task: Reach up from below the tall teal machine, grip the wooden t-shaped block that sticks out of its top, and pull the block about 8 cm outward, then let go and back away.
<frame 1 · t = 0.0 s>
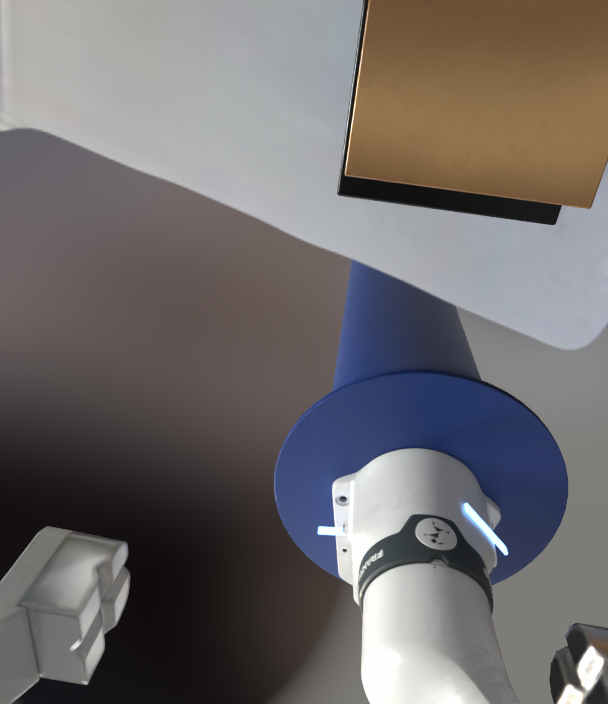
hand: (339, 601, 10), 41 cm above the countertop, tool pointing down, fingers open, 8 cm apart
machine: (426, 58, 41), on the countertop
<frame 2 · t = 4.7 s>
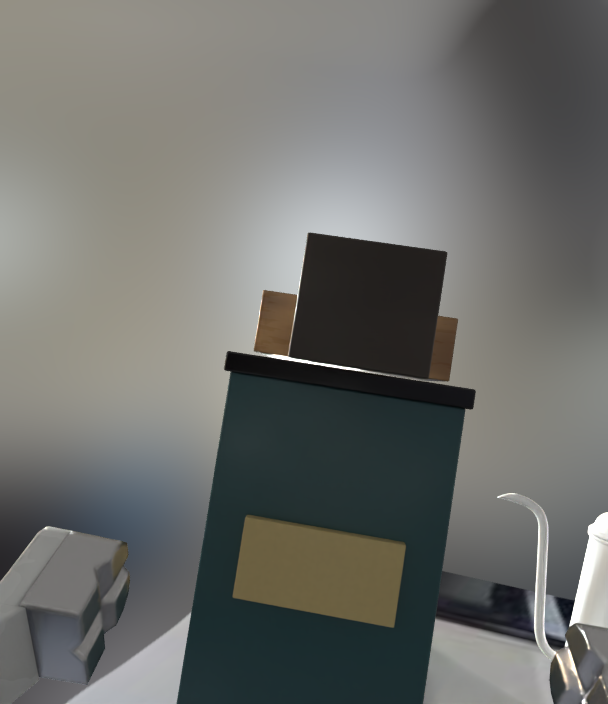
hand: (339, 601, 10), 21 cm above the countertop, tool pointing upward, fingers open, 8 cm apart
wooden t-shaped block: (356, 330, 26), point 28 cm above the countertop, slide at 0.0 cm
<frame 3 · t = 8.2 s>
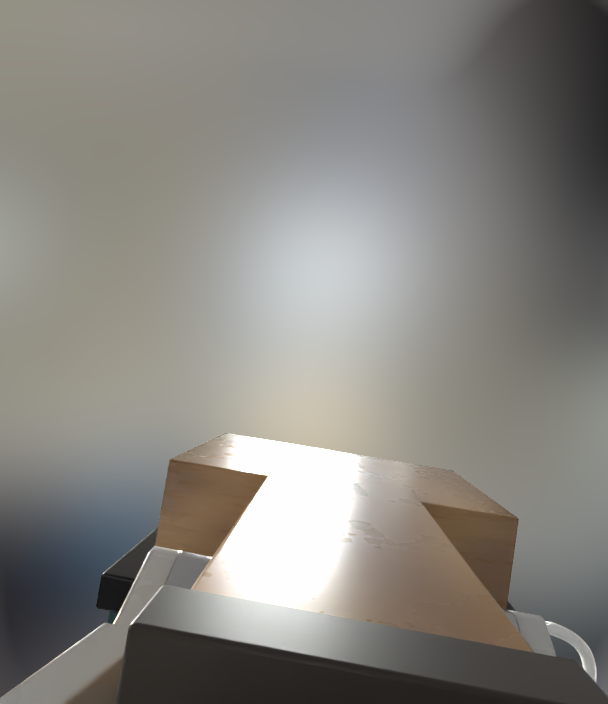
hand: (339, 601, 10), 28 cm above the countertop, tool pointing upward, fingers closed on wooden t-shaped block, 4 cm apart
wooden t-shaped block: (332, 555, 14), point 28 cm above the countertop, slide at 0.0 cm, touching gripper
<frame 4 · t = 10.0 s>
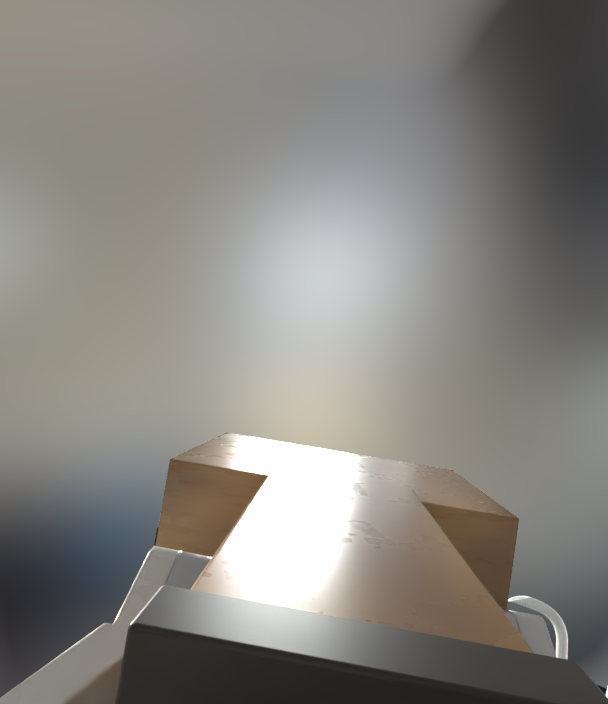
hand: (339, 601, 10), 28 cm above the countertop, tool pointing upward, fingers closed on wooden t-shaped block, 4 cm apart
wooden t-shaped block: (333, 555, 14), point 28 cm above the countertop, slide at 4.8 cm, touching gripper
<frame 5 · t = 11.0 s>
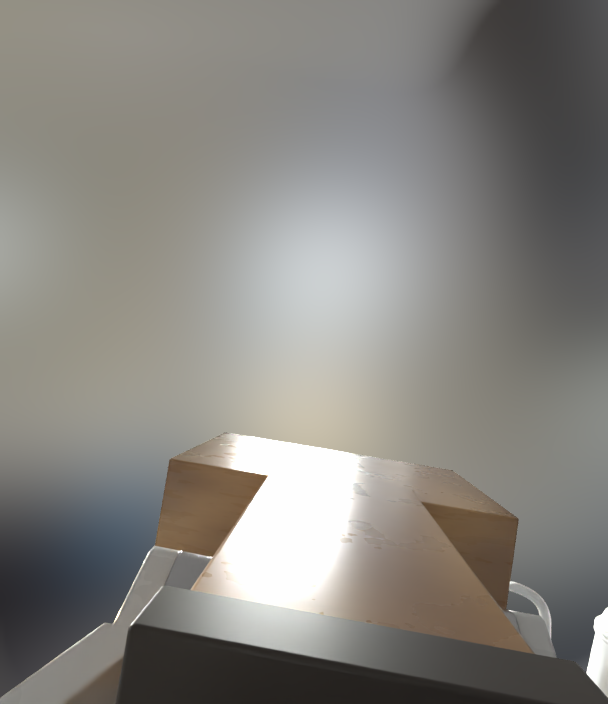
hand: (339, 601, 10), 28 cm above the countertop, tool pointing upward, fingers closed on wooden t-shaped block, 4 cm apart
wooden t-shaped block: (332, 555, 14), point 28 cm above the countertop, slide at 7.9 cm, touching gripper
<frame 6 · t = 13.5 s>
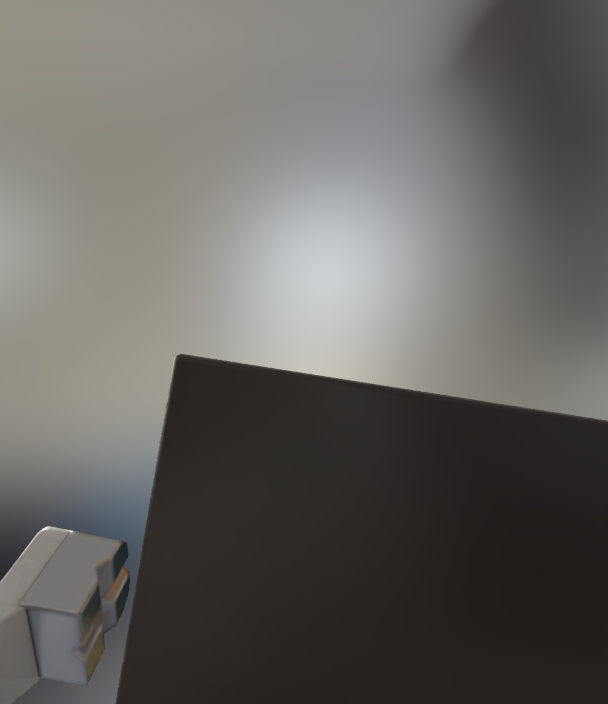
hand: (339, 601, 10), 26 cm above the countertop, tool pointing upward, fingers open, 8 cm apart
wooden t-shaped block: (349, 463, 14), point 28 cm above the countertop, slide at 8.1 cm
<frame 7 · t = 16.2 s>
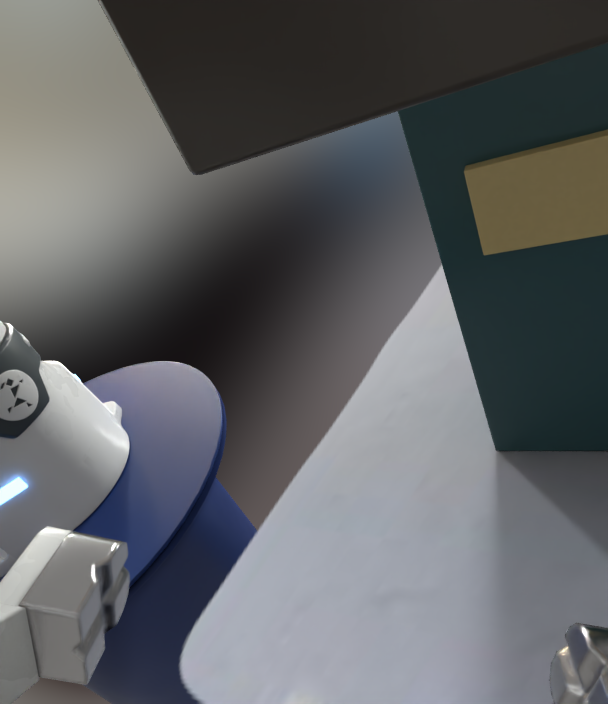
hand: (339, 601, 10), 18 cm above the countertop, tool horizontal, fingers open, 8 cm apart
machine: (603, 398, 32), on the countertop
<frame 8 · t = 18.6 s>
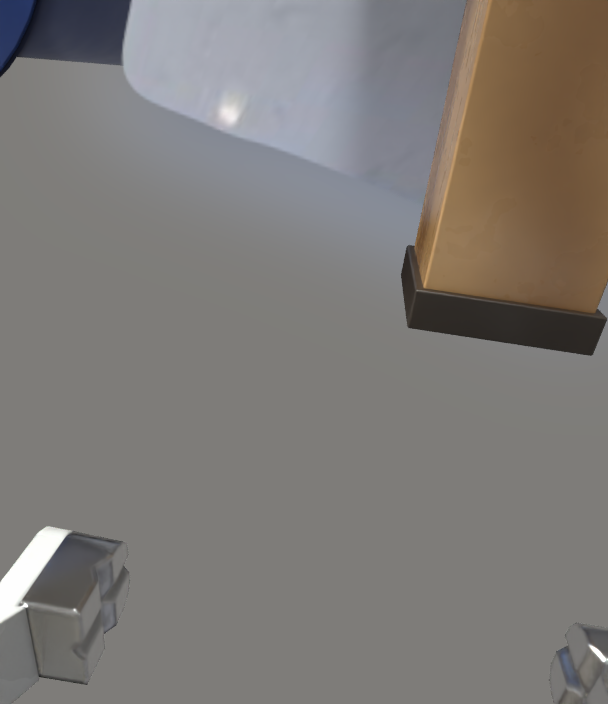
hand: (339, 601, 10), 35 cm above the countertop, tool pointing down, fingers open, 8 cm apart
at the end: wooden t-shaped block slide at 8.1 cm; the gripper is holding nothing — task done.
